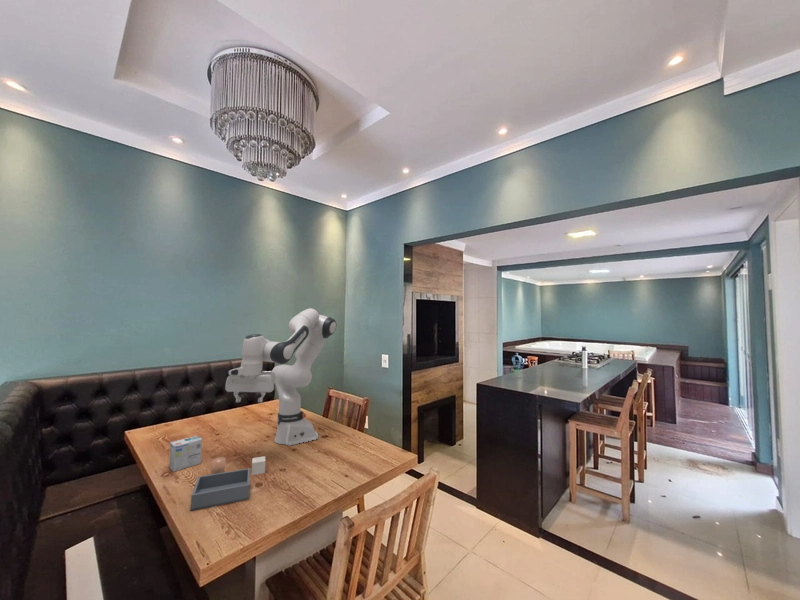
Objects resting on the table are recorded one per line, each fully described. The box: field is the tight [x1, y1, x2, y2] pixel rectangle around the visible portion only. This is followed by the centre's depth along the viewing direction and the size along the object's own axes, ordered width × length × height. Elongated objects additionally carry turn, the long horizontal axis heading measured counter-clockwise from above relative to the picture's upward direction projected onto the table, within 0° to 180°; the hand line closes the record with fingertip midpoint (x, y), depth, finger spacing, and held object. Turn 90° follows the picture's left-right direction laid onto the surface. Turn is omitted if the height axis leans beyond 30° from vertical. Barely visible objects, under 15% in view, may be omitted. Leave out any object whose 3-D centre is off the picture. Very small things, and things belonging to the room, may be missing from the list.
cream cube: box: [251, 456, 266, 476], centre depth 132 cm, size 5×5×5 cm
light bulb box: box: [168, 435, 203, 473], centre depth 137 cm, size 11×7×11 cm, turn 141°
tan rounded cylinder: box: [210, 456, 226, 475], centre depth 127 cm, size 5×5×7 cm
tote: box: [190, 467, 251, 512], centre depth 114 cm, size 18×14×5 cm
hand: (249, 402), depth 139 cm, fingers open, 8 cm apart
